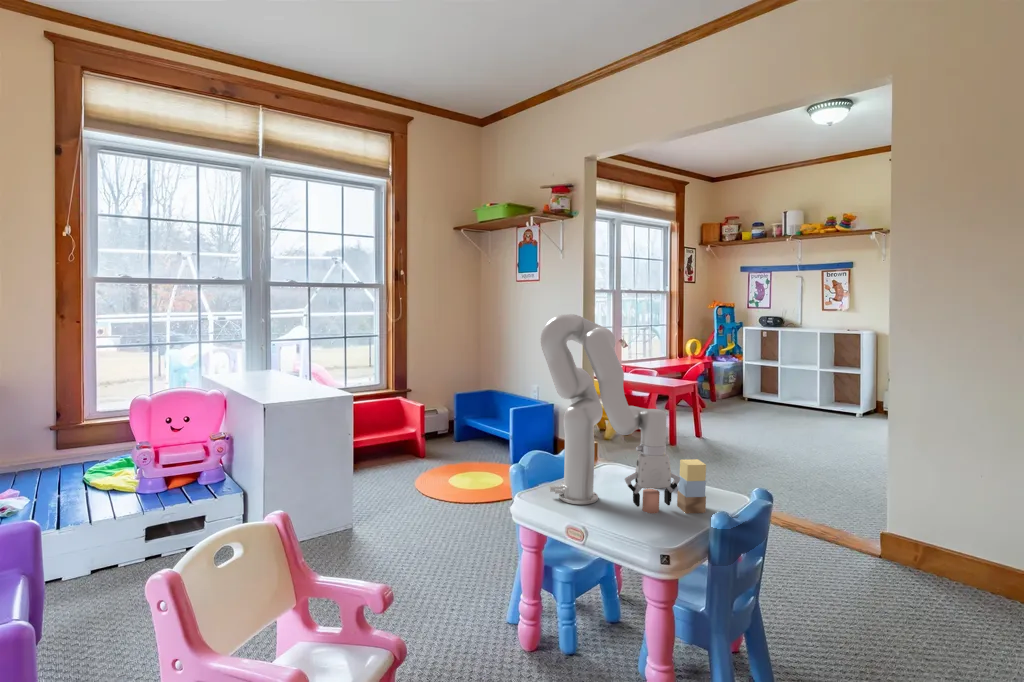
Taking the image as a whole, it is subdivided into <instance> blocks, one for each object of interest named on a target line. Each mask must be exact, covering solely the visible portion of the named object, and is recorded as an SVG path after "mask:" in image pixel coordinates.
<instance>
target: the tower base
mask: <svg viewBox="0 0 1024 682" xmlns="http://www.w3.org/2000/svg"><path fill="white" fill-rule="evenodd" d="M676 496H677V500H676V502H677V503H676V507H677V508H679V509H680V510H681V512H683V513H684V512H685V513H686V514H706V509H707V507H706V506H707V504H706V503H707V497H706V496H705V497H685V496H684V495H683V494H682V493H681V492H679V490H677V495H676ZM685 513H684V514H685Z"/></svg>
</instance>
